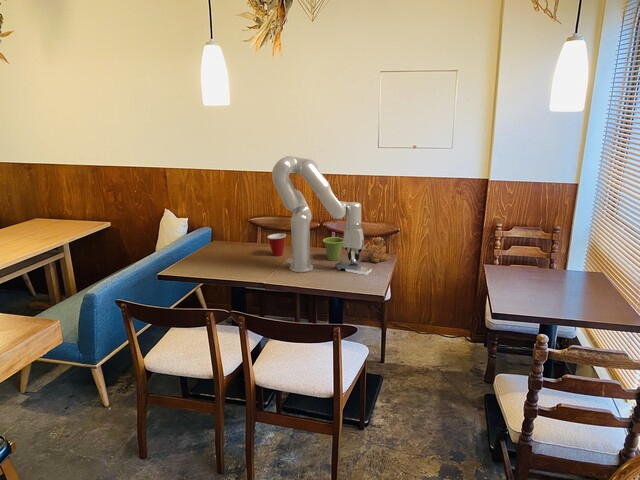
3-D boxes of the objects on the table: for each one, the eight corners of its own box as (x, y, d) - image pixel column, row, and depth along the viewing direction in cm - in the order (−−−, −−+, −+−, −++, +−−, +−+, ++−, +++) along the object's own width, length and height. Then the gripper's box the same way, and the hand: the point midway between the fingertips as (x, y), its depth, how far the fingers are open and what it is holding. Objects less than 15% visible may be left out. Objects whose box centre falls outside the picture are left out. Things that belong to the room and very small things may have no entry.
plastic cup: (270, 251, 290) (269, 232, 287) (288, 252, 289) (287, 233, 286) (266, 257, 280) (265, 237, 277) (284, 258, 278) (283, 237, 275)
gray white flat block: (335, 269, 258) (335, 264, 257) (340, 265, 264) (340, 260, 263) (366, 274, 250) (366, 269, 249) (371, 270, 256) (371, 265, 255)
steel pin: (349, 263, 255) (349, 248, 253) (352, 261, 258) (352, 247, 256) (355, 264, 254) (355, 249, 252) (357, 262, 257) (357, 247, 254)
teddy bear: (390, 258, 276) (391, 236, 272) (379, 265, 265) (380, 242, 261) (375, 255, 281) (375, 234, 278) (363, 262, 270) (363, 239, 267)
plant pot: (319, 258, 277) (318, 239, 274) (333, 254, 284) (334, 236, 281) (333, 263, 268) (333, 244, 265) (348, 259, 276) (348, 240, 273)
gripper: (336, 226, 251) (336, 259, 256) (365, 229, 244) (365, 264, 249) (342, 223, 258) (342, 256, 263) (371, 226, 250) (370, 260, 255)
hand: (353, 259), depth 256 cm, fingers closed on steel pin, 3 cm apart
